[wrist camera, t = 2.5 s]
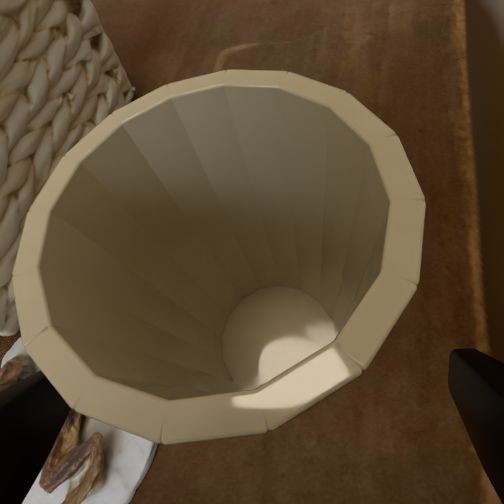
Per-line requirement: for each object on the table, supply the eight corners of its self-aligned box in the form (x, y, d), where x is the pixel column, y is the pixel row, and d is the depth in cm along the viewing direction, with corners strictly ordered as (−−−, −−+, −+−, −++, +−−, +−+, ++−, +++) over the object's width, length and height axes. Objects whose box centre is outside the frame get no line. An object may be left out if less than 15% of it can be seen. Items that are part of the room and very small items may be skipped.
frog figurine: (-61, 579, 15) (-171, 630, 12) (-9, 327, 20) (-74, 311, 17) (173, 539, 14) (127, 582, 11) (161, 287, 19) (129, 262, 16)
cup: (361, 405, 15) (516, 405, 3) (220, 422, 16) (-38, 468, 4) (329, 272, 18) (356, 36, 6) (213, 292, 19) (51, 110, 7)
